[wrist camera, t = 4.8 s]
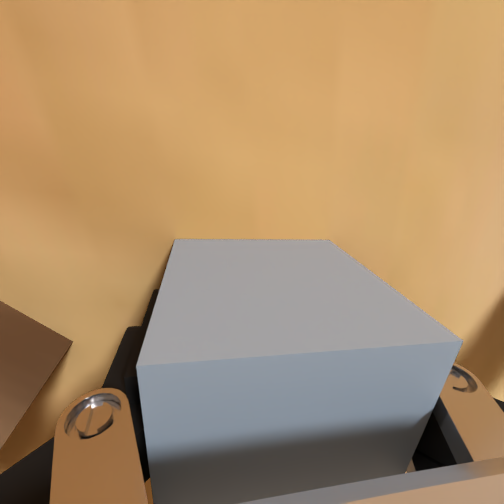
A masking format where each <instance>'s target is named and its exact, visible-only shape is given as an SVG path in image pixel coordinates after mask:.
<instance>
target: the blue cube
mask: <svg viewBox="0 0 504 504" xmlns="http://www.w3.org/2000/svg"><path fill="white" fill-rule="evenodd" d="M462 343H463V340H462V339H460V338H459V337H458V336H456V335H455V334H454V333H452V332H451V331H450V330H448V329H447V328H446V327H444V326H443V325H442V324H440V323H439V322H438V321H436V320H435V319H434V318H432V317H431V316H430V315H428V314H427V313H426V312H424V311H423V310H422V309H420V308H419V307H418V306H416V305H415V304H414V303H412V302H411V301H410V300H408V299H407V298H406V297H404V296H403V295H402V294H400V293H399V292H398V291H396V290H395V289H394V288H392V287H391V286H390V285H388V284H387V283H386V282H384V281H383V280H382V279H380V278H379V277H378V276H376V275H375V274H374V273H372V272H371V271H370V270H368V269H367V268H366V267H364V266H363V265H362V264H360V263H359V262H358V261H356V260H355V259H354V258H352V257H351V256H350V255H348V254H347V253H346V252H344V251H343V250H342V249H340V248H339V247H338V246H336V245H335V244H334V243H333V242H331V241H330V240H234V239H175V241H174V244H173V247H172V251H171V254H170V257H169V260H168V264H167V267H166V270H165V273H164V277H163V280H162V283H161V287H160V290H159V293H158V296H157V300H156V303H155V306H154V309H153V313H152V316H151V319H150V322H149V326H148V329H147V332H146V336H145V339H144V342H143V345H142V349H141V352H140V355H139V358H138V362H137V365H136V369H137V377H138V385H139V393H140V400H141V408H142V416H143V424H144V432H145V440H146V448H147V456H148V464H149V471H150V479H151V487H152V495H153V503H154V504H238V503H243V502H249V501H254V500H259V499H265V498H270V497H276V496H281V495H287V494H292V493H298V492H303V491H309V490H314V489H320V488H325V487H331V486H337V485H342V484H348V483H354V482H359V481H365V480H370V479H376V478H382V477H388V476H393V475H399V474H405V472H406V470H407V468H408V465H409V463H410V461H411V458H412V456H413V454H414V452H415V449H416V447H417V445H418V443H419V440H420V438H421V436H422V434H423V431H424V429H425V427H426V425H427V422H428V420H429V418H430V415H431V413H432V411H433V409H434V406H435V404H436V402H437V400H438V397H439V395H440V393H441V391H442V388H443V386H444V384H445V382H446V379H447V377H448V375H449V372H450V370H451V368H452V366H453V363H454V361H455V359H456V357H457V354H458V352H459V350H460V348H461V345H462Z"/></svg>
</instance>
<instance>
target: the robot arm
mask: <svg viewBox="0 0 504 504" xmlns="http://www.w3.org/2000/svg"><path fill="white" fill-rule="evenodd" d="M159 290H160V289H155V290H154V291H153V294H152V297H151V300H150V303H149V305H148V308H147V311H146V314H145V317H144V320H143V323H142V326H134V327H128V328H127V330H126V332H125V334H124V336H123V339H122V341H121V344H120V346H119V348H118V351H117V353H116V355H115V358H114V360H113V363H112V365H111V367H110V370H109V372H108V374H107V377H106V379H105V382H104V384H103V386H102V388H101V389H97V390H93V391H91V392H88V393H86V394H84V395H82V396H80V397H79V398H78V399H76V400H75V401H73V402H72V403H71V404H70V405H69V406H68V407H67V408H66V409H65V410H64V411H63V413H62V414H61V416H60V417H59V419H58V421H57V425H56V428H55V437H53V438H52V439H50V440H49V441H48V442H46V443H45V444H43V445H42V446H40V447H39V448H38V449H36V450H35V451H33V452H32V453H30V454H29V455H27V456H26V457H25V458H23V459H22V460H20V461H19V462H17V463H16V464H15V465H13V466H12V467H10V468H9V469H7V470H6V471H5V472H3V473H2V474H0V504H148V500H147V495H146V489H145V484H144V483H145V482H146V481H147V480H148V479H149V478H150V471H149V464H148V456H147V448H146V440H145V432H144V424H143V416H142V408H141V400H140V393H139V385H138V377H137V369H136V365H137V362H138V358H139V355H140V352H141V349H142V345H143V342H144V339H145V336H146V332H147V329H148V326H149V322H150V319H151V316H152V313H153V309H154V306H155V303H156V300H157V296H158V293H159ZM406 472H407V473H405V474H399V475H393V476H388V477H382V478H376V479H370V480H365V481H359V482H354V483H348V484H342V485H337V486H331V487H325V488H320V489H314V490H309V491H303V492H298V493H292V494H287V495H281V496H276V497H270V498H265V499H259V500H254V501H249V502H243V503H238V504H504V402H502V401H500V400H498V399H495V398H493V397H492V396H491V395H490V393H489V392H488V391H487V389H486V388H485V387H484V385H483V384H482V382H481V381H480V380H479V379H478V378H477V377H476V376H475V375H474V374H473V373H471V372H470V371H469V370H467V369H466V368H464V367H462V366H461V365H459V364H456V363H453V366H452V368H451V370H450V372H449V375H448V377H447V379H446V382H445V384H444V386H443V388H442V391H441V393H440V395H439V397H438V400H437V402H436V404H435V406H434V409H433V411H432V413H431V415H430V418H429V420H428V422H427V425H426V427H425V429H424V431H423V434H422V436H421V438H420V440H419V443H418V445H417V447H416V449H415V452H414V454H413V456H412V458H411V461H410V463H409V465H408V468H407V470H406Z"/></svg>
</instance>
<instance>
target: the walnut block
mask: <svg viewBox="0 0 504 504" xmlns="http://www.w3.org/2000/svg"><path fill="white" fill-rule="evenodd" d="M72 342H73V341H71V340H69V339H67V338H65V337H64V336H62V335H60V334H58V333H56V332H55V331H53V330H51V329H49V328H48V327H46V326H44V325H42V324H40V323H39V322H37V321H35V320H33V319H31V318H30V317H28V316H26V315H24V314H23V313H21V312H19V311H17V310H15V309H14V308H12V307H10V306H8V305H6V304H5V303H3V302H1V301H0V449H1V448H2V446H3V445H4V443H5V442H6V440H7V439H8V437H9V436H10V434H11V433H12V431H13V430H14V428H15V427H16V425H17V424H18V422H19V421H20V419H21V418H22V417H23V415H24V414H25V412H26V411H27V409H28V408H29V406H30V405H31V403H32V402H33V400H34V399H35V397H36V396H37V394H38V393H39V391H40V390H41V388H42V387H43V385H44V384H45V382H46V381H47V379H48V378H49V376H50V375H51V373H52V372H53V370H54V369H55V367H56V366H57V364H58V363H59V362H60V360H61V359H62V357H63V356H64V354H65V353H66V351H67V350H68V348H69V347H70V345H71V344H72Z"/></svg>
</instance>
